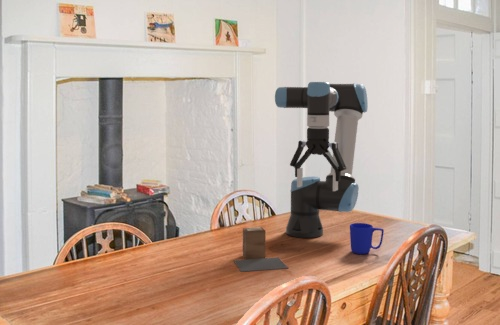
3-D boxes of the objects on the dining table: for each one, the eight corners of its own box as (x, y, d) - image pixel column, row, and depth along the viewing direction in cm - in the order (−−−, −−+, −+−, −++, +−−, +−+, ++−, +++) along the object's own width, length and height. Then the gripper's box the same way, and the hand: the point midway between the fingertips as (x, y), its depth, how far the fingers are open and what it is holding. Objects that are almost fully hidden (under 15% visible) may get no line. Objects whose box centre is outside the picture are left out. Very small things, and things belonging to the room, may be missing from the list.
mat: (233, 261, 198) (233, 260, 198) (278, 258, 202) (278, 257, 202) (241, 271, 187) (241, 271, 187) (288, 268, 191) (288, 267, 191)
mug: (383, 256, 204) (384, 229, 203) (348, 254, 206) (349, 227, 205) (382, 250, 212) (383, 224, 211) (349, 248, 214) (350, 222, 213)
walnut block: (242, 255, 205) (242, 227, 204) (261, 254, 207) (261, 226, 206) (245, 259, 200) (245, 231, 199) (265, 258, 202) (265, 229, 201)
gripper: (280, 126, 199) (280, 186, 203) (347, 129, 186) (346, 194, 189) (291, 125, 206) (290, 183, 209) (356, 128, 193) (355, 190, 196)
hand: (317, 188), depth 199 cm, fingers open, 13 cm apart
